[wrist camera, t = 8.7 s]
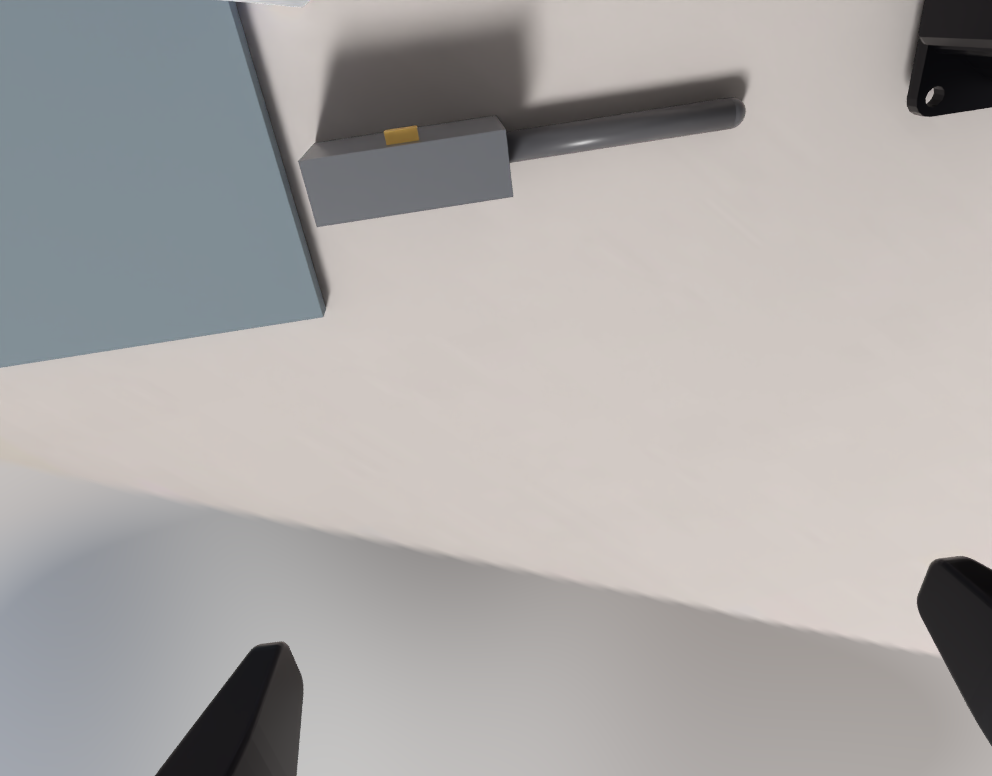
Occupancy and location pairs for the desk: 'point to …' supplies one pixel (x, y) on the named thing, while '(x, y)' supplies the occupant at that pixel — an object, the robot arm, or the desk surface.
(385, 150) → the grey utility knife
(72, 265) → the mat
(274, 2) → the hard drive
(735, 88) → the desk surface
